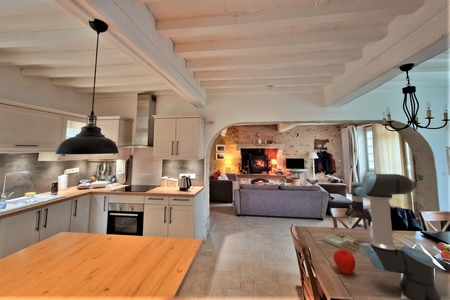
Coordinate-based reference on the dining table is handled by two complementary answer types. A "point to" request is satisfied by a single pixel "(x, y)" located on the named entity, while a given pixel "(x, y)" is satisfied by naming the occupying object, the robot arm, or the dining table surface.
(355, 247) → the bench board
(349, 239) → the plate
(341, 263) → the apple
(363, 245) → the medicine box
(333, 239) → the tray
